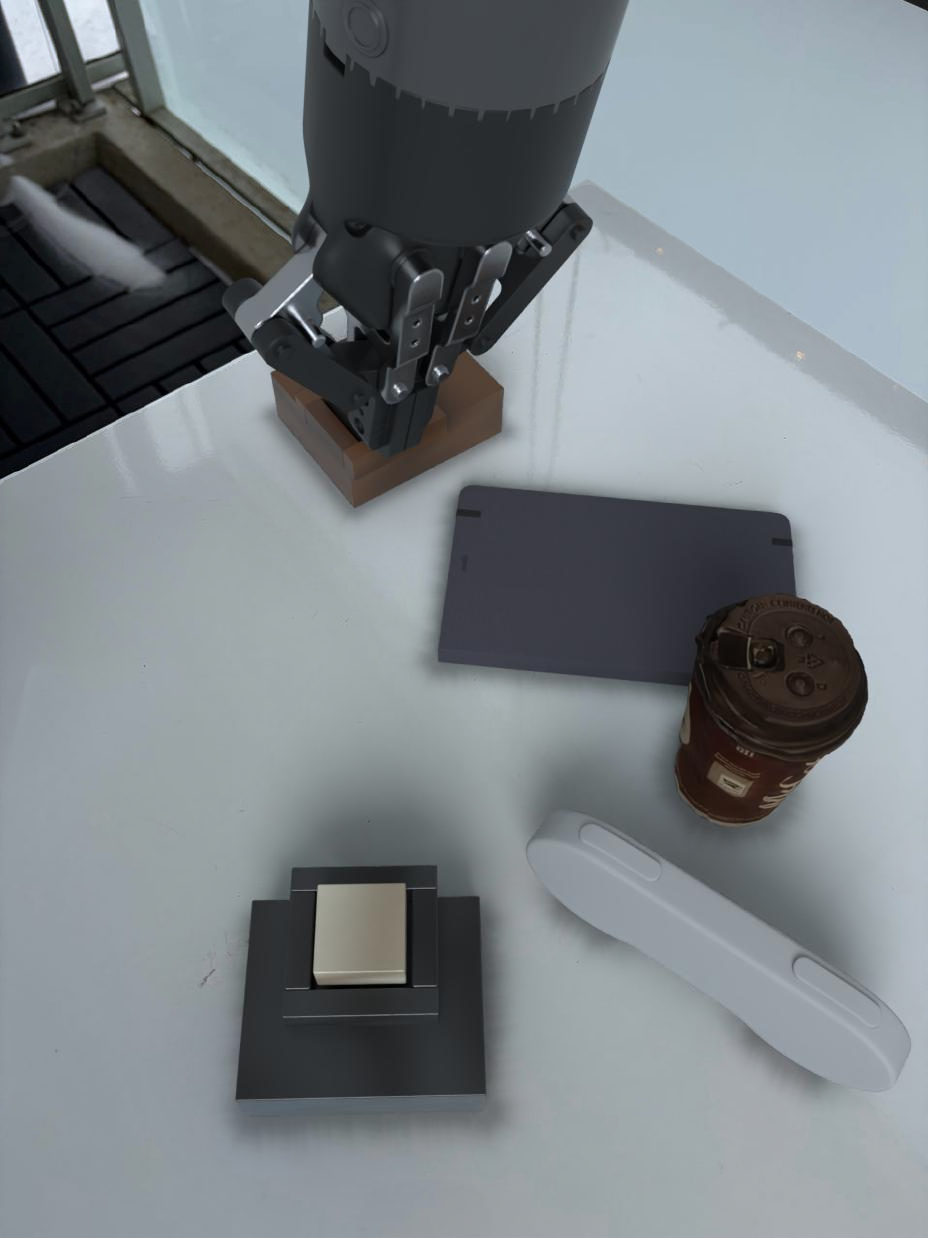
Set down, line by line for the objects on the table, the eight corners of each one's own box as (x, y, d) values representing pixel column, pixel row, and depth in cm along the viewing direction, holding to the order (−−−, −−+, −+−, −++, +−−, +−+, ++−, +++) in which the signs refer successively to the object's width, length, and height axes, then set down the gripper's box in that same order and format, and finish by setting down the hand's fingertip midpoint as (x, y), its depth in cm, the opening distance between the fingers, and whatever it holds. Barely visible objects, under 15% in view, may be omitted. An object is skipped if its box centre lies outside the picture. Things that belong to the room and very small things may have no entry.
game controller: (879, 1067, 52) (945, 1027, 46) (859, 1108, 51) (925, 1074, 44) (542, 844, 58) (555, 779, 51) (518, 878, 57) (529, 816, 50)
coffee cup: (618, 766, 61) (657, 644, 50) (713, 680, 64) (769, 548, 53) (739, 877, 58) (809, 771, 47) (833, 780, 61) (919, 661, 50)
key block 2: (248, 1117, 51) (227, 1094, 46) (265, 908, 56) (247, 867, 51) (483, 1111, 51) (487, 1088, 46) (476, 904, 56) (480, 863, 51)
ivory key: (317, 986, 49) (312, 973, 47) (321, 899, 51) (317, 884, 49) (406, 984, 49) (405, 971, 47) (406, 897, 51) (405, 882, 49)
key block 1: (358, 524, 70) (352, 462, 65) (272, 419, 75) (260, 354, 70) (512, 443, 74) (517, 379, 69) (420, 348, 79) (419, 282, 74)
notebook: (437, 662, 65) (796, 697, 64) (437, 648, 63) (804, 684, 62) (459, 498, 71) (783, 528, 71) (460, 483, 70) (790, 513, 69)
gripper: (581, -138, 30) (468, 311, 45) (139, -42, 24) (179, 430, 40) (759, 26, 28) (578, 440, 43) (316, 171, 22) (287, 586, 37)
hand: (386, 435), depth 41 cm, fingers closed
